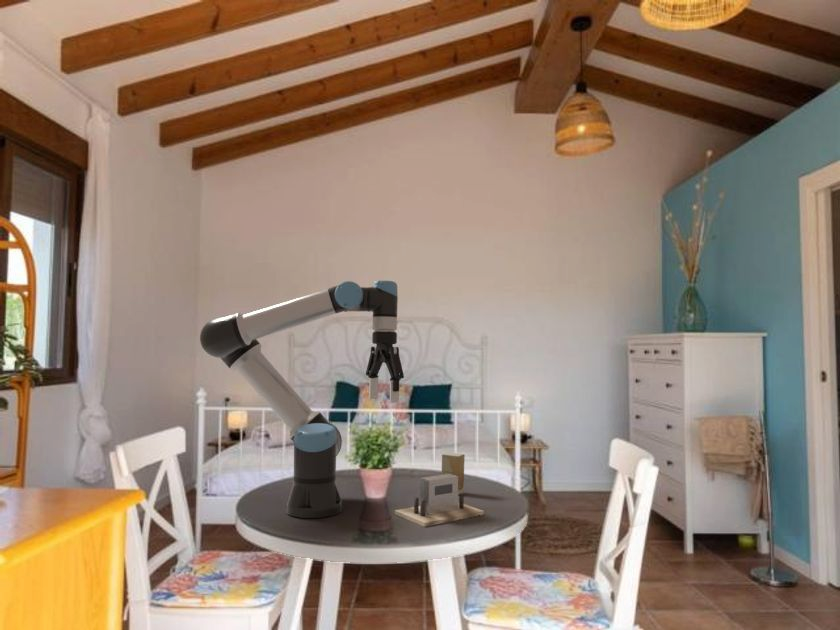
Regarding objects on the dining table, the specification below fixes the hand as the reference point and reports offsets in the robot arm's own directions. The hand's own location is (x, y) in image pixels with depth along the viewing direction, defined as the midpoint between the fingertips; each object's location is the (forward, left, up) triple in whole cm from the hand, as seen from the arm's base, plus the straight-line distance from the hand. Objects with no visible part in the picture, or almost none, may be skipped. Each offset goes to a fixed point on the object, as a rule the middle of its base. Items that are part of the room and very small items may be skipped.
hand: (383, 400), depth 181 cm
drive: (+4, -23, -28) cm, 37 cm away
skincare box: (+22, -6, -30) cm, 37 cm away
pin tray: (+4, -23, -29) cm, 38 cm away
